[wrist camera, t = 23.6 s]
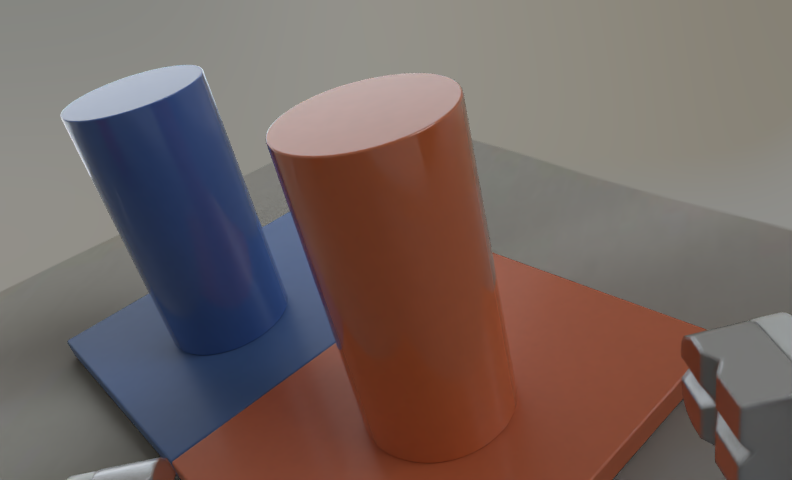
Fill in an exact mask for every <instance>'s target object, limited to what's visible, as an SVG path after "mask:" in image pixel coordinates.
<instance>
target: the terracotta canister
mask: <svg viewBox="0 0 792 480" xmlns="http://www.w3.org/2000/svg"><path fill="white" fill-rule="evenodd" d="M266 143H267V146H268V149H269V152H270V155H271V158H272V161H273V163H274V166H275V169H276V172H277V175H278V178H279V181H280V184H281V187H282V189H283V192H284V195H285V198H286V201H287V204H288V207H289V210H290V212H291V215H292V218H293V221H294V224H295V227H296V230H297V233H298V235H299V238H300V241H301V244H302V247H303V250H304V253H305V256H306V259H307V261H308V264H309V267H310V270H311V273H312V276H313V279H314V282H315V284H316V287H317V290H318V293H319V296H320V299H321V302H322V305H323V307H324V310H325V313H326V316H327V319H328V322H329V325H330V328H331V330H332V333H333V336H334V339H335V342H336V345H337V348H338V351H339V354H340V356H341V359H342V362H343V365H344V368H345V371H346V374H347V377H348V379H349V382H350V385H351V388H352V391H353V394H354V397H355V400H356V402H357V405H358V408H359V411H360V414H361V417H362V420H363V423H364V426H365V428H366V431H367V433H368V435H369V437H370V438H371V439H372V441H373V442H374V443H375V444H376V445H377V446H378V447H379V448H381V449H382V450H383V451H385V452H386V453H388V454H390V455H392V456H394V457H396V458H399V459H402V460H406V461H411V462H417V463H439V462H445V461H451V460H455V459H458V458H462V457H464V456H467V455H469V454H472V453H474V452H476V451H478V450H480V449H482V448H483V447H485V446H486V445H488V444H489V443H490V442H492V441H493V440H494V439H495V438H496V437H498V436H499V434H500V433H501V432H502V431H503V430H504V429H505V428H506V426H507V425H508V423H509V422H510V420H511V418H512V416H513V414H514V411H515V408H516V405H517V386H516V381H515V375H514V370H513V364H512V359H511V353H510V347H509V342H508V336H507V331H506V325H505V320H504V314H503V309H502V303H501V298H500V292H499V287H498V281H497V276H496V270H495V265H494V259H493V254H492V248H491V243H490V237H489V232H488V226H487V220H486V215H485V209H484V204H483V198H482V193H481V187H480V182H479V176H478V171H477V165H476V160H475V154H474V149H473V143H472V138H471V132H470V127H469V121H468V116H467V110H466V104H465V99H464V93H463V90H462V87H461V86H460V85H459V83H457V82H456V81H455V80H453V79H451V78H448V77H445V76H441V75H436V74H427V73H404V74H394V75H386V76H380V77H375V78H370V79H365V80H360V81H357V82H353V83H349V84H346V85H343V86H340V87H336V88H333V89H331V90H328V91H326V92H323V93H320V94H318V95H316V96H313V97H312V98H309V99H307V100H305V101H303V102H301V103H299V104H297V105H296V106H294V107H293V108H291V109H290V110H288V111H286V112H285V113H284V114H282V115H281V116H280V117H279V118H278V119H277V120H276V121H274V123H273V124H272V125H271V126H270V128H269V129H268V131H267V134H266Z"/></svg>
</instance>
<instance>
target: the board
mask: <svg viewBox="0 0 792 480" xmlns="http://www.w3.org/2000/svg"><path fill="white" fill-rule="evenodd" d="M262 229H263V231H264V234H265V237H266V239H267V242H268V245H269V247H270V250H271V253H272V255H273V258H274V261H275V263H276V266H277V269H278V271H279V274H280V277H281V279H282V282H283V285H284V287H285V290H286V292H287V296H288V302H287V307H286V309H285V312H284V313H283V315H282V317H281V318H280V319H279V321H278V322H277V323H276V324H275V325H274V326H273V327H272V328H271V329H270V330H268V331H267V332H266V333H265V334H263V335H262V336H260V337H259V338H257V339H256V340H254V341H252V342H250V343H248V344H246V345H244V346H242V347H239V348H237V349H234V350H231V351H228V352H224V353H220V354H214V355H193V354H189V353H186V352H184V351H182V350H180V349H179V348H178V347H177V346H176V345H175V344H174V342H173V340H172V338H171V336H170V334H169V332H168V330H167V328H166V326H165V324H164V322H163V320H162V318H161V316H160V314H159V312H158V310H157V308H156V306H155V304H154V302H153V300H152V298H151V296H150V294H147V295H145V296H144V297H142V298H140V299H138V300H137V301H135V302H133V303H132V304H130V305H128V306H126V307H125V308H123V309H121V310H120V311H118V312H116V313H114V314H113V315H111V316H109V317H107V318H106V319H104V320H102V321H101V322H99V323H97V324H95V325H94V326H92V327H90V328H89V329H87V330H85V331H83V332H82V333H80V334H78V335H76V336H75V337H73V338H71V339H70V340H68V344H69V346H70V348H71V349H72V351H73V353H74V354H75V356H76V357H77V358H78V359H79V361H80V362H81V363H82V364H83V365H84V366H85V368H86V369H87V370H88V371H89V372H90V373H91V375H92V376H93V377H94V378H95V379H96V381H97V382H98V383H99V384H100V385H101V386H102V388H103V389H104V390H105V391H106V392H107V393H108V395H109V396H110V397H111V398H112V399H113V401H114V402H115V403H116V404H117V405H118V406H119V408H120V409H121V410H122V411H123V412H124V413H125V415H126V416H127V417H128V418H129V419H130V421H131V422H132V423H133V424H134V425H135V426H136V428H137V429H138V430H139V431H140V432H141V433H142V435H143V436H144V437H145V438H146V439H147V441H148V442H149V443H150V444H151V445H152V446H153V448H154V449H155V450H156V451H157V452H158V453H159V455H160V456H161V457H162V458H167V459H168V461H169V462H170V464H171V465H172V467H173V468H174V470H175V471H176V475H177V476H178V477H179V478H180V479H181V480H612V479H613V478H614V477H615V476H616V475H617V474H618V472H619V471H620V470H621V469H622V468H623V467H624V466H625V464H626V463H627V462H628V461H629V460H630V459H631V457H632V456H633V455H634V454H635V453H636V452H637V451H638V449H639V448H640V447H641V446H642V445H643V444H644V443H645V441H646V440H647V439H648V438H649V437H650V436H651V435H652V433H653V432H654V431H655V430H656V429H657V428H658V427H659V425H660V424H661V423H662V422H663V421H664V420H665V419H666V417H667V416H668V415H669V414H670V413H671V412H672V410H673V409H674V408H675V407H676V406H677V405H678V404H679V402H680V401H681V400H682V399H683V395H682V382H681V378H682V377H683V375H684V374H685V373H686V371H687V370H688V366H687V365H686V363H685V362H684V360H683V359H682V357H681V342H682V339H683V336H686V335H690V334H694V333H698V332H702V331H707V330H706V329H703V328H701V327H698V326H695V325H692V324H689V323H687V322H684V321H681V320H678V319H676V318H673V317H670V316H667V315H664V314H662V313H659V312H656V311H653V310H651V309H648V308H645V307H642V306H639V305H637V304H634V303H631V302H628V301H626V300H623V299H620V298H617V297H614V296H612V295H609V294H606V293H603V292H601V291H598V290H595V289H592V288H589V287H587V286H584V285H581V284H578V283H575V282H573V281H570V280H567V279H564V278H562V277H559V276H556V275H553V274H550V273H548V272H545V271H542V270H539V269H537V268H534V267H531V266H528V265H525V264H523V263H520V262H517V261H514V260H512V259H509V258H506V257H503V256H500V255H498V254H495V253H492V254H493V259H494V265H495V270H496V276H497V281H498V287H499V292H500V298H501V303H502V309H503V314H504V320H505V325H506V331H507V336H508V342H509V347H510V353H511V359H512V364H513V370H514V375H515V381H516V386H517V405H516V408H515V411H514V414H513V416H512V418H511V420H510V422H509V423H508V425H507V426H506V428H505V429H504V430H503V431H502V432H501V433H500V434H499V436H498V437H496V438H495V439H494V440H493V441H492V442H490V443H489V444H488V445H486V446H485V447H483V448H482V449H480V450H478V451H476V452H474V453H472V454H469V455H467V456H464V457H462V458H458V459H455V460H451V461H445V462H439V463H417V462H411V461H406V460H402V459H399V458H396V457H394V456H392V455H390V454H388V453H386V452H385V451H383V450H382V449H381V448H379V447H378V446H377V445H376V444H375V443H374V442H373V441H372V439H371V438H370V437H369V435H368V433H367V431H366V428H365V426H364V423H363V420H362V417H361V414H360V411H359V408H358V405H357V402H356V400H355V397H354V394H353V391H352V388H351V385H350V382H349V379H348V377H347V374H346V371H345V368H344V365H343V362H342V359H341V356H340V354H339V351H338V348H337V345H336V342H335V339H334V336H333V333H332V330H331V328H330V325H329V322H328V319H327V316H326V313H325V310H324V307H323V305H322V302H321V299H320V296H319V293H318V290H317V287H316V284H315V282H314V279H313V276H312V273H311V270H310V267H309V264H308V261H307V259H306V256H305V253H304V250H303V247H302V244H301V241H300V238H299V235H298V233H297V230H296V227H295V224H294V221H293V218H292V215H291V212H288V213H286V214H285V215H283V216H281V217H280V218H278V219H276V220H274V221H273V222H271V223H269V224H267V225H266V226H264V227H262Z"/></svg>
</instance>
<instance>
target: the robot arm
mask: <svg viewBox="0 0 792 480" xmlns="http://www.w3.org/2000/svg"><path fill="white" fill-rule="evenodd" d="M681 357H682V359H683V360H684V362H685V363H686V365H687V366H688V370H687V371H686V373H685V374H684V375H683V377H682V378H681V382H682V395H683V399H684V403H685V407H686V410H687V413H688V416H689V418H690V420H691V422H692V424H693V426H694V428H695V430H696V431H697V433H698V435H699V436H700V438H701V439H703V440H705V441H707V442H709V443H711V444H713V445H714V446H715V462H716V464H717V465H718V467H719V468H720V470H721V472H722V473H723V475H724V476H725V478H726V479H727V480H792V316H791V315H790V314H788V313H785V312H780V313H776V314H772V315H767V316H763V317H759V318H755V319H751V320H749V321H744V322H740V323H736V324H732V325H727V326H723V327H719V328H715V329H711V330H707V331H702V332H698V333H694V334H690V335H686V336H683V339H682V342H681ZM175 474H176V471H175V470H174V468H173V467H172V465H171V464H170V462H169V461H168V459H167V458H161V457H159V458H154V459H149V460H144V461H139V462H134V463H129V464H124V465H119V466H115V467H110V468H105V469H100V470H99V471H94V472H89V473H84V474H79V475H74V476H70V477H69V478H67V479H66V480H174V479H175Z"/></svg>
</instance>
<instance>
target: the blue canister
mask: <svg viewBox="0 0 792 480" xmlns="http://www.w3.org/2000/svg"><path fill="white" fill-rule="evenodd" d="M61 119H62V121H63V123H64V125H65V127H66V129H67V131H68V133H69V135H70V137H71V139H72V141H73V143H74V145H75V147H76V149H77V151H78V153H79V155H80V157H81V159H82V161H83V163H84V165H85V167H86V169H87V171H88V173H89V175H90V177H91V179H92V180H93V183H94V185H95V187H96V189H97V191H98V192H99V195H100V197H101V199H102V201H103V203H104V205H105V206H106V209H107V211H108V213H109V214H110V216H111V218H112V220H113V222H114V224H115V226H116V228H117V230H118V232H119V234H120V236H121V238H122V240H123V242H124V244H125V246H126V248H127V250H128V252H129V254H130V256H131V258H132V260H133V262H134V264H135V266H136V268H137V270H138V272H139V274H140V276H141V278H142V280H143V282H144V284H145V286H146V288H147V290H148V292H149V294H150V296H151V298H152V300H153V302H154V304H155V306H156V308H157V310H158V312H159V314H160V316H161V318H162V320H163V322H164V324H165V326H166V328H167V330H168V332H169V334H170V336H171V338H172V340H173V342H174V344H175V345H176V346H177V347H178V348H179V349H180V350H182V351H184V352H186V353H189V354H193V355H214V354H220V353H224V352H228V351H231V350H234V349H237V348H239V347H242V346H244V345H246V344H248V343H250V342H252V341H254V340H256V339H257V338H259V337H260V336H262V335H263V334H265V333H266V332H267V331H268V330H270V329H271V328H272V327H273V326H274V325H275V324H276V323H277V322H278V321H279V319H280V318H281V317H282V315H283V313H284V312H285V309H286V307H287V302H288V296H287V292H286V290H285V287H284V285H283V282H282V279H281V277H280V274H279V271H278V269H277V266H276V263H275V261H274V258H273V255H272V253H271V250H270V247H269V245H268V242H267V239H266V237H265V234H264V231H263V229H262V226H261V223H260V221H259V218H258V215H257V213H256V210H255V207H254V205H253V202H252V200H251V197H250V194H249V192H248V189H247V186H246V184H245V181H244V178H243V176H242V173H241V170H240V168H239V165H238V162H237V160H236V157H235V154H234V152H233V149H232V146H231V144H230V141H229V138H228V136H227V133H226V130H225V128H224V125H223V122H222V120H221V117H220V115H219V112H218V109H217V107H216V104H215V101H214V99H213V96H212V93H211V91H210V88H209V85H208V83H207V80H206V77H205V75H204V72H203V70H202V69H201V68H200V67H198V66H195V65H177V66H169V67H164V68H159V69H154V70H150V71H146V72H142V73H139V74H135V75H132V76H129V77H126V78H123V79H120V80H118V81H115V82H112V83H109V84H107V85H105V86H102V87H100V88H98V89H96V90H93V91H91V92H89V93H87V94H85V95H83V96H82V97H80V98H78V99H77V100H75V101H74V102H72V103H71V104H69V105H68V106H67V107H66V108H65V109H64V110H63V111H62V113H61Z"/></svg>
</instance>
